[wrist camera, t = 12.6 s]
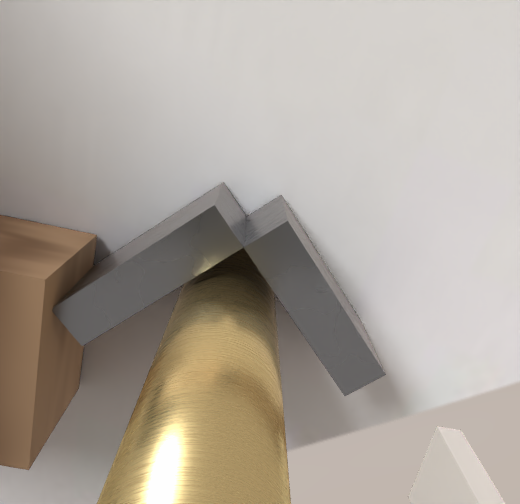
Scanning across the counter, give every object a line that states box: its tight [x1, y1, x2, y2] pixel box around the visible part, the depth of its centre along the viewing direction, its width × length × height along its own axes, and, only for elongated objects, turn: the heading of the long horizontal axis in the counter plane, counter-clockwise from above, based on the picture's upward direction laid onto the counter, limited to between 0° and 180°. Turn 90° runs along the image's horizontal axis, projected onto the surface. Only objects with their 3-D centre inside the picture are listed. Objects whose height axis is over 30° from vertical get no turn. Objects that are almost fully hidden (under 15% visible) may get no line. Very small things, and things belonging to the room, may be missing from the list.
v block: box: [52, 182, 386, 396], centre depth 21 cm, size 14×7×5 cm, turn 78°
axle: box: [97, 247, 291, 504], centre depth 17 cm, size 4×4×16 cm
